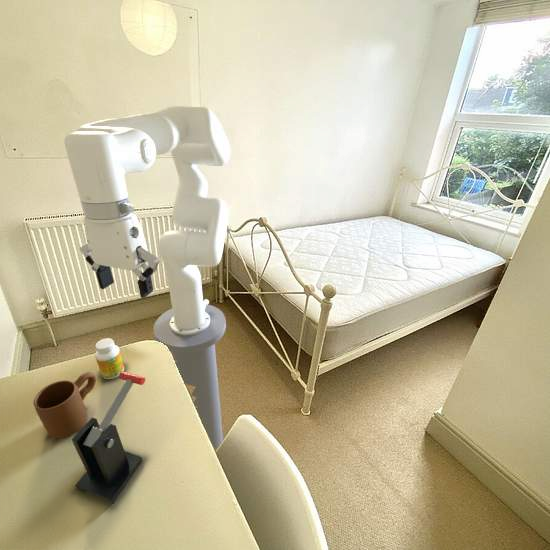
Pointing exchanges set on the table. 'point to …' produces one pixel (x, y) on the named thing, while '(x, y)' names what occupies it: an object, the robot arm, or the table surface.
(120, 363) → the supplement bottle
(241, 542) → the table surface
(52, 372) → the table surface
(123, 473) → the bracket
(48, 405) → the mug
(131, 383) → the lever
